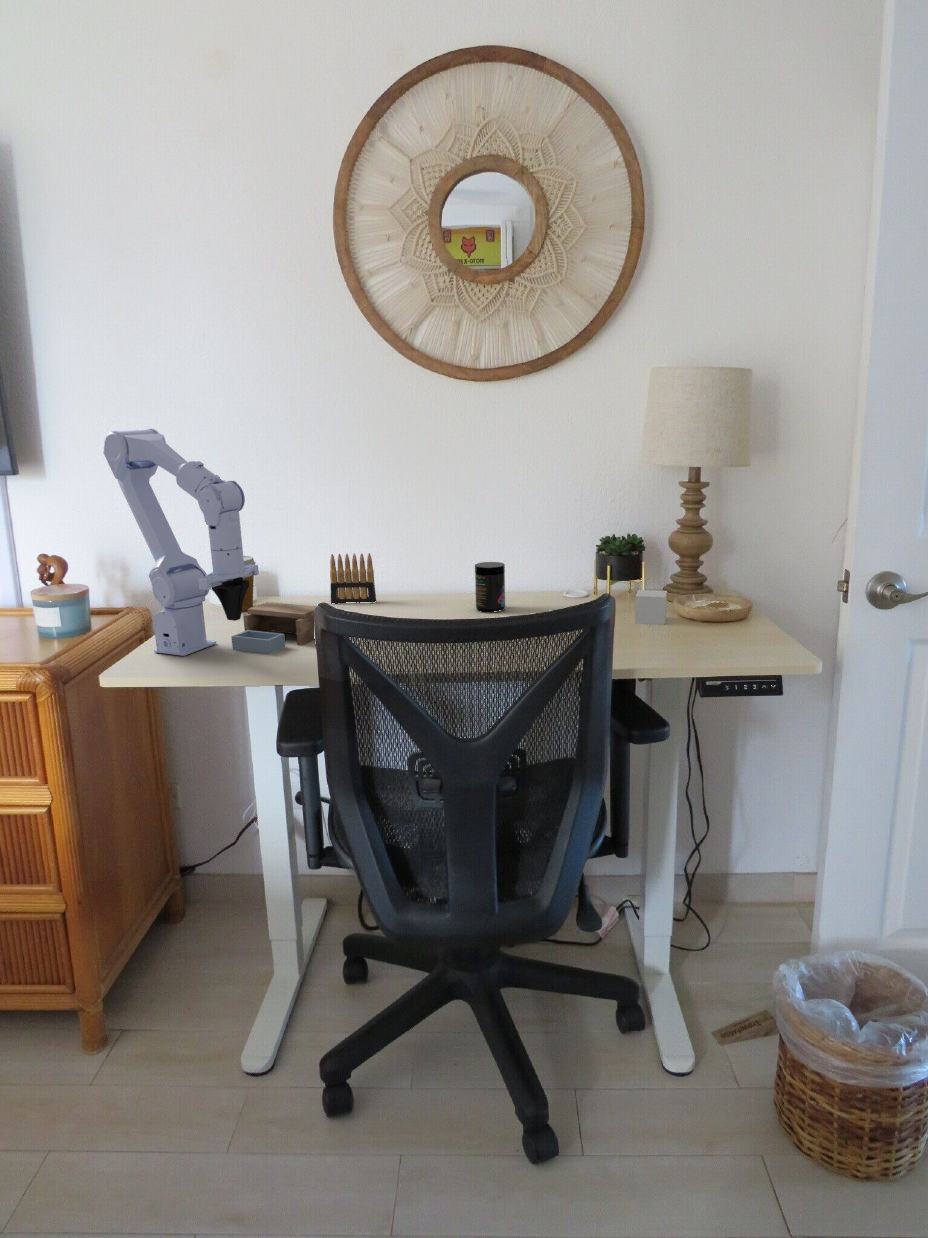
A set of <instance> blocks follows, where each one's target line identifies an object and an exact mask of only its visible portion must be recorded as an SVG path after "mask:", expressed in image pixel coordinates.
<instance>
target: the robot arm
mask: <svg viewBox="0 0 928 1238" xmlns="http://www.w3.org/2000/svg"><path fill="white" fill-rule="evenodd" d="M166 442H167V441H166V438H165V435H164V434H161V433H160V432H159V431H158V430H157V429H155V428H148V429H138V430H137V429H135V430H133V429H132V430H110V431H109V432H108V433H107V434H106V436H105V439H104V445H103V446H104V447H103V455H104V457H105V459H106V461H107V464H108V466H109V468H110V470H111V472H112V474H113V477H114V478H115V479H116V480H117V483H118V484H119V488H120V490H121V492H122V494H123V495H124V499H125V500H126V503H127V505H128V506H129V508H130V511H131V513H132V516H133V517H134V520H135V521H136V523H137V525H138V528H139V530H140V532H141V535H142V536H143V538H144V540H145V542H146V545H147V548H148V549H149V551H150V553H151V555H152V558H153V559H154V562H155V563H154V565H153V566H152V568H151V569H150V572H149V573H148V578H149V581H150V583H151V587H152V594H153V597H154V599H155V600H156V602H158V604H160V607H162V609H161V610H160V611H158V612H157V613H156V614H155V615H154V617H153V629H154V637H155V644H156V646H155V647H156V648H154V649H153V652H154V653H159V654H165V655H166V654H167V655H175V656H182V657H183V656H184V657H185V656H188V655H190V654H193V653H196V652H198V651H200V650H203V649H206V648H208V647H211V646H213V645H216V644H217V641H216V640H211V639H207V633H206V624H205V623H206V622H205V614H204V613H205V612H204V605H203V603H204V602H206V597H207V595H209V592H210V590H211V591H212V592H213V593H214V594H215V595H216V597H217V598H218V600H219V602H220V604H221V606H222V608H223V610H224V613H225V616H226V620H228V621H233V622H235V621H239V620H241V618H242V617H241V616H242V612H243V611H242V605H243V600H244V597H245V594H246V591H247V589H248V587H249V581H248V580H243V578H245V577H249V576H252V575H254V576H259V565H258V564H255V565H251V564H250V565H245V566H244V558H243V556H244V550H243V539H242V529H241V519H240V511H242V510H243V509H244V506H245V502H246V501H245V500H246V498H245V493H244V490H243V488H242V487H241V485H240V484H238V483H237V481H235V480H223V479H222V478H221V477H220V476H219V475H218V474H214V473H213V472H212V471H210V470H209V469H207V467H205V464H204V463H203V462H202V461H200V460H198V461H195V460H191V461H187V460H186V459H185V458H184V457H183V456H181V455H180V454H179V452H177V451H176V450H174V449H173V448H172V447H171V446H170V445H169V444H167V443H166ZM159 467H160V468H162V469H163V470H164V471H166V472H168V473H169V474H171V475H173V476H174V477H175V481H176V484H177V486H178V487H179V488H180V489H182V490H183V491H184V492H186V494H188V495H189V496H191V497H193V498H194V499H195V500H196V501H197V502H198V506H199V509H200V511H201V512H202V515H203V518H204V522H205V524H206V525H205V526H207V529H208V538H209V544H210V545H209V547H210V556H211V565H212V572H211V573H209V574H207V573H206V571H205V570H204V569H203V568H202V567H201V565H200V563H199V562H198V560H197V559H196V558H195V557H193V556H192V555H189V554H187V553H185V552H183V551H182V549H181V547H180V544H179V543H178V541H177V538H176V537H175V534H174V532H173V530H172V528H171V526H170V523H169V522H168V519H167V518H166V517H167V516H166V515H165V513H164V511H163V509H162V506H161V504H160V502H159V500H158V498H157V496H156V494H155V492H154V490H153V488H152V485H151V483H150V479H151V478H152V477H153V476H155V474H156V473H157V470H158V468H159Z"/></svg>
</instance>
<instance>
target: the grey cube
mask: <svg viewBox="0 0 928 1238" xmlns="http://www.w3.org/2000/svg"><path fill="white" fill-rule="evenodd" d="M667 606H668V590H657V589H656V590H650V589H649V590H648V589H638V590H637V593H636V594H635V606H634V609H635V612H634V614H635V615H634V624H639V625H659V626H664V625H665V624H666V621H667V611H668V609H667Z"/></svg>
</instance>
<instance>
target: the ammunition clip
mask: <svg viewBox="0 0 928 1238" xmlns="http://www.w3.org/2000/svg"><path fill="white" fill-rule="evenodd" d="M352 554H353V555H352V559H351V561H350V557H349V554H348V553H346V554H345V558H344V565H343V557H342V555H341V554H340V553H338V556H337V566H336V559H335V556H334V554H333V553H331V555H330V559H329V562H330V566H329V567H330V568H329V575H330V576H329V579H330V604H331V605H333V604H332V603H335V604H334V605H339V604H338V603H346V602H356V603H357V602H359V603H360V602H375V601H376V602H377V595H376V587H375V586H376V584H375V575H374V573H375V570H374V567H373V566H374V565H373V559H372V555H371V553H370V552H369V553H368V554H367V558H366V560H367V561H366V562H365V557H364V554H363V552H362V553H360V557H359V567H358V560H357V555H356V553H352ZM351 564H352V565H351ZM366 564H367V565H366ZM351 566H352V567H351ZM366 567H367V568H366Z"/></svg>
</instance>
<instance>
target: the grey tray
mask: <svg viewBox="0 0 928 1238" xmlns="http://www.w3.org/2000/svg"><path fill="white" fill-rule="evenodd" d="M231 646H232V647H231V648H232V650H233V651H234V650H235V651H241V650H242V652H243V651H244V652H249V653H259V654H268V655H271V654H273V653H276V652H277V651H280V650H282V649H284V648H286V639H285V633H281V632H272V631H269V632H261V631H252V630H247V631H245V630H244V631H242V632H239V633H236V634H234V635H231Z"/></svg>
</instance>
